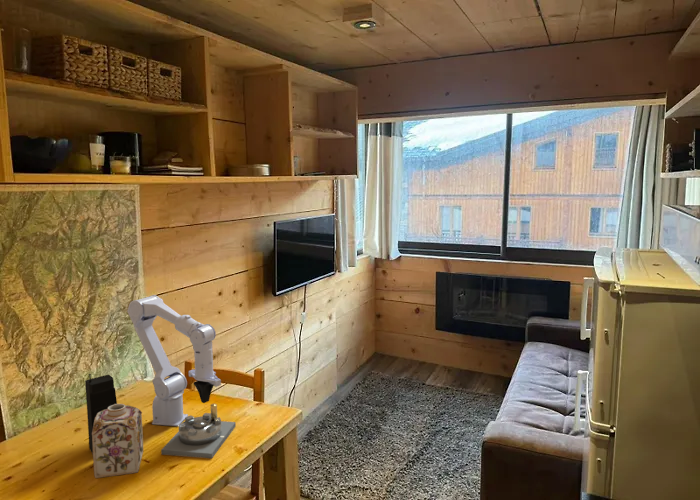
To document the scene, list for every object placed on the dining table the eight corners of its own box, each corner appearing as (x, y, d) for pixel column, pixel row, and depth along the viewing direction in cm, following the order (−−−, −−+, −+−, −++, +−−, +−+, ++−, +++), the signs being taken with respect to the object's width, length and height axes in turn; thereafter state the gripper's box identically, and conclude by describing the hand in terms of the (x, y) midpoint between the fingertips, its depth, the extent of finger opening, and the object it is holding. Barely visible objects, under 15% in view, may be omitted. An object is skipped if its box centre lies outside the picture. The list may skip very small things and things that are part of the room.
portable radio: (114, 440, 161) (110, 364, 157) (121, 447, 156) (117, 370, 153) (88, 449, 155) (82, 371, 152) (94, 456, 151) (89, 377, 148)
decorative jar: (93, 479, 140) (89, 418, 137) (102, 457, 151) (98, 400, 148) (139, 473, 143) (136, 413, 140) (144, 452, 154) (141, 395, 151)
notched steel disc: (195, 449, 152) (194, 424, 151) (170, 436, 160) (169, 412, 159) (229, 432, 162) (229, 409, 161) (204, 421, 170) (203, 398, 169)
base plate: (161, 454, 152) (161, 449, 152) (190, 423, 172) (190, 418, 172) (212, 458, 150) (211, 453, 150) (235, 426, 170) (235, 421, 170)
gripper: (227, 363, 164) (229, 403, 166) (200, 354, 173) (201, 392, 174) (210, 370, 158) (211, 410, 160) (182, 360, 167) (184, 399, 169)
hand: (205, 401), depth 167 cm, fingers closed
